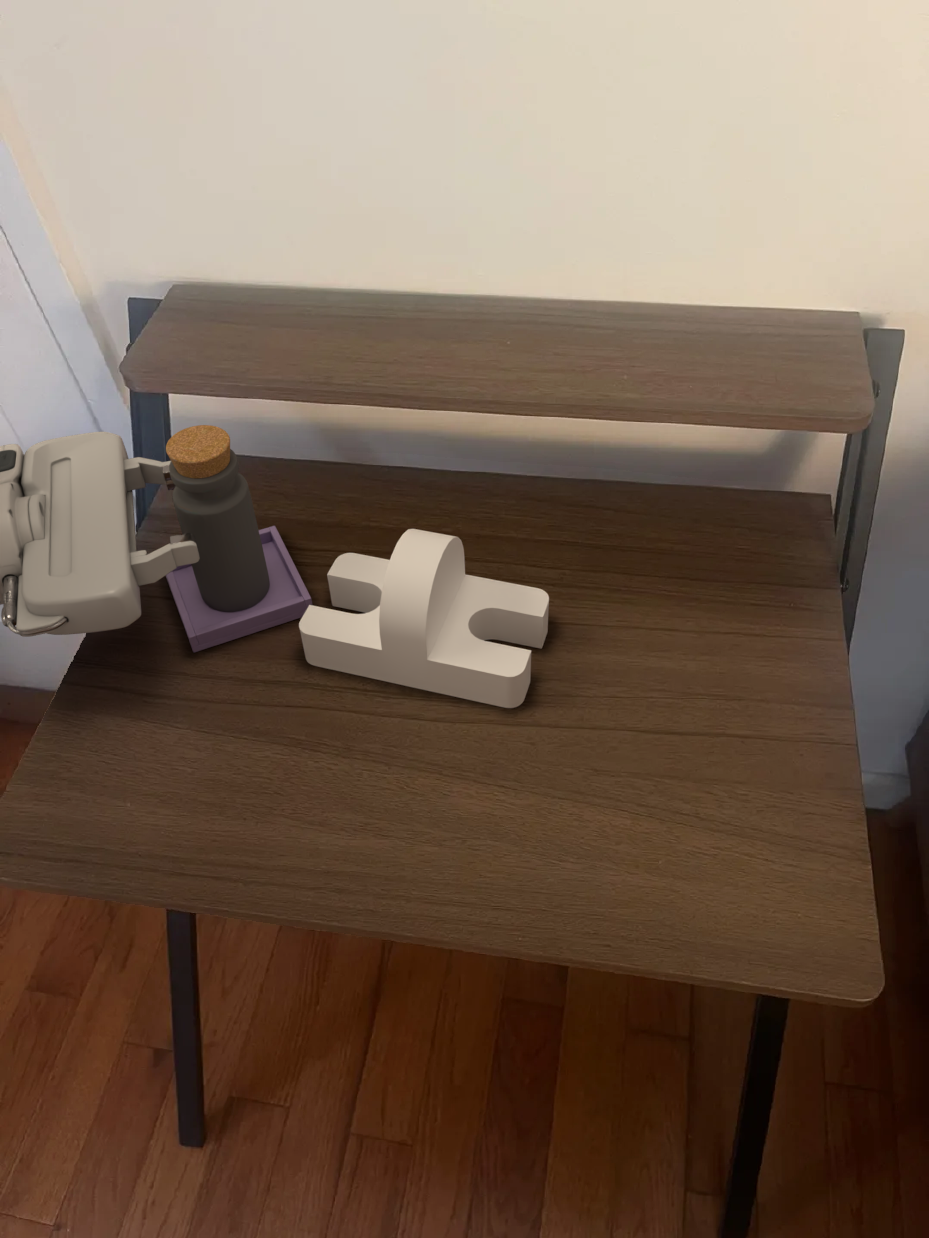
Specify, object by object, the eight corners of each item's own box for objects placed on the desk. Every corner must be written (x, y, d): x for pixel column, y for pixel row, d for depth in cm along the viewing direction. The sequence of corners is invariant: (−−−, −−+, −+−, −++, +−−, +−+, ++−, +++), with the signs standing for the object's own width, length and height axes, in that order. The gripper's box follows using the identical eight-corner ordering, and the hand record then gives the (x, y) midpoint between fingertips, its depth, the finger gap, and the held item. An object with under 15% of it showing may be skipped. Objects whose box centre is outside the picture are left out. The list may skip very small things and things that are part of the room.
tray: (193, 653, 81) (188, 637, 80) (165, 574, 88) (160, 559, 87) (314, 613, 84) (311, 598, 83) (278, 540, 91) (274, 525, 89)
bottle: (284, 579, 86) (253, 433, 76) (239, 622, 83) (201, 475, 72) (231, 556, 89) (194, 411, 78) (186, 597, 85) (140, 451, 74)
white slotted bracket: (520, 710, 76) (522, 616, 69) (300, 662, 80) (280, 568, 73) (550, 622, 83) (555, 527, 75) (345, 581, 87) (331, 487, 79)
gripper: (-17, 607, 67) (194, 565, 69) (-3, 433, 81) (173, 403, 83) (16, 670, 71) (213, 629, 74) (24, 496, 85) (190, 465, 88)
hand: (192, 508), depth 78 cm, fingers open, 8 cm apart
